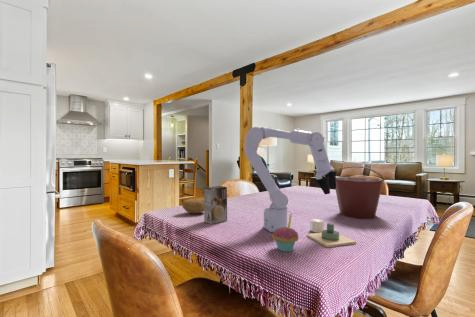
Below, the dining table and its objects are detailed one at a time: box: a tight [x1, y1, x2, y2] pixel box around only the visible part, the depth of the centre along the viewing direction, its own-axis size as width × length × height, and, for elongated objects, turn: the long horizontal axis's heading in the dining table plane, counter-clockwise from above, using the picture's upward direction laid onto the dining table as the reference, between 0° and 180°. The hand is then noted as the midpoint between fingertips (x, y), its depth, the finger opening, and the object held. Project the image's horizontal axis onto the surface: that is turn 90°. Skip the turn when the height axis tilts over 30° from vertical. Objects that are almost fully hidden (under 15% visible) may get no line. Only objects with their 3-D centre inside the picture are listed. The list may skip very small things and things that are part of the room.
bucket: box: [334, 165, 386, 220], centre depth 128 cm, size 24×22×25 cm
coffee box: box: [203, 185, 228, 225], centre depth 116 cm, size 9×6×16 cm
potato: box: [181, 197, 204, 215], centre depth 131 cm, size 10×14×8 cm
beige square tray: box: [306, 222, 357, 249], centre depth 91 cm, size 12×12×6 cm
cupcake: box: [271, 213, 299, 253], centre depth 82 cm, size 9×8×12 cm
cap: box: [309, 218, 325, 233], centre depth 102 cm, size 5×5×4 cm
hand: (330, 190), depth 104 cm, fingers open, 7 cm apart
